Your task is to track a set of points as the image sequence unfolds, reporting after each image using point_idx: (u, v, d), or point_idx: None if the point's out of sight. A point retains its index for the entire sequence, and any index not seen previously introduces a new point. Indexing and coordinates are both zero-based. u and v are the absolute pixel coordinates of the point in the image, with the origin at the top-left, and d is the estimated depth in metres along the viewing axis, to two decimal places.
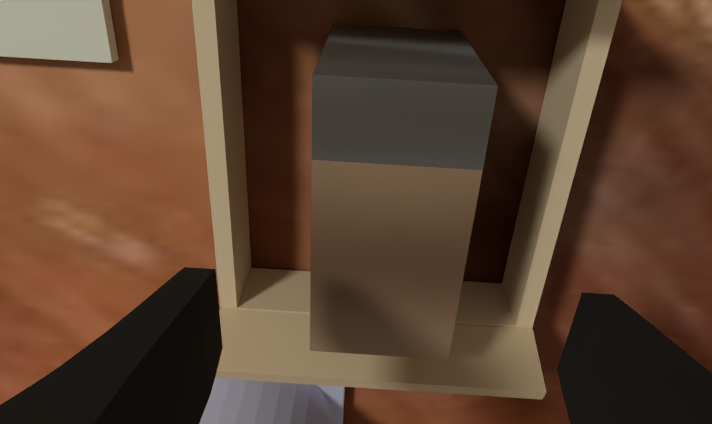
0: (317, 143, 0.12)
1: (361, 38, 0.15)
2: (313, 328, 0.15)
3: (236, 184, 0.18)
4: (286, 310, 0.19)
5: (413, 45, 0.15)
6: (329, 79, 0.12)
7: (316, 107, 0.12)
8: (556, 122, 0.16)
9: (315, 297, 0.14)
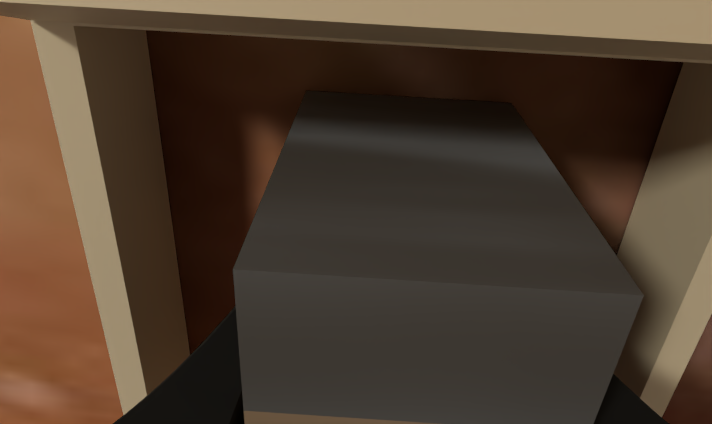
0: (254, 386, 0.06)
1: (348, 128, 0.09)
2: None
3: (159, 330, 0.12)
4: None
5: (439, 145, 0.08)
6: (271, 280, 0.05)
7: (245, 328, 0.06)
8: (667, 253, 0.10)
9: None
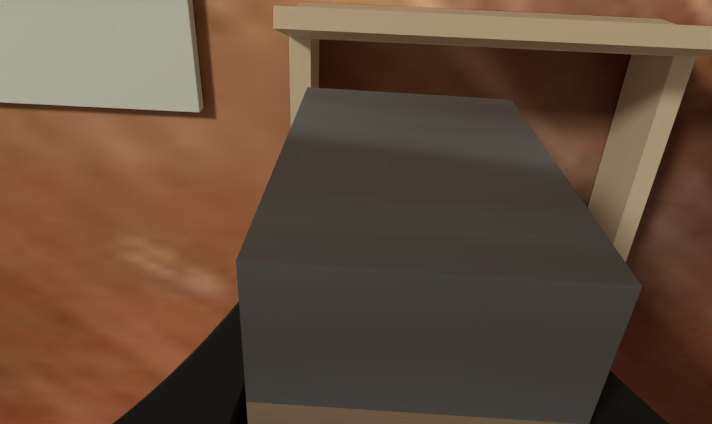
0: (256, 377, 0.06)
1: (350, 124, 0.09)
2: None
3: None
4: None
5: (440, 140, 0.08)
6: (273, 271, 0.05)
7: (248, 319, 0.06)
8: (623, 166, 0.17)
9: None
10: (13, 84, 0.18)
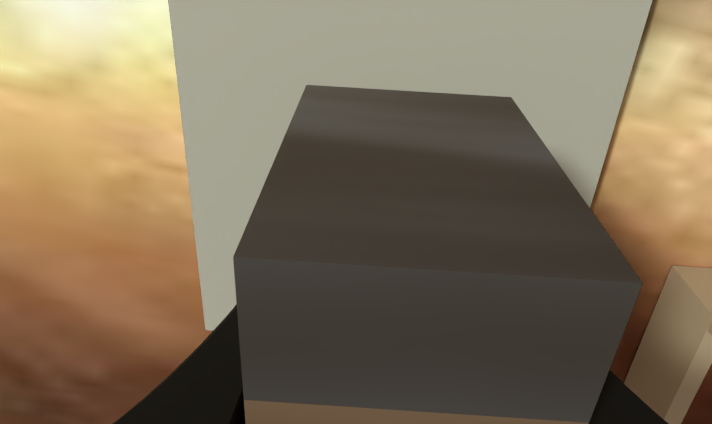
0: (254, 374, 0.06)
1: (349, 121, 0.09)
2: None
3: None
4: None
5: (439, 137, 0.08)
6: (271, 267, 0.05)
7: (246, 316, 0.06)
8: None
9: None
10: None
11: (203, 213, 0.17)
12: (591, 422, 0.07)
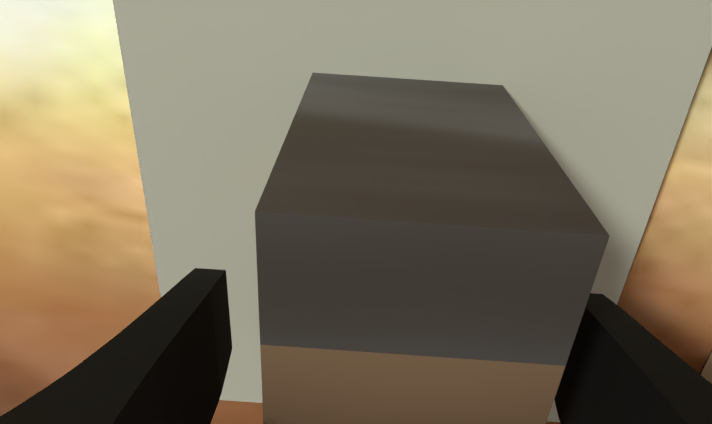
0: (270, 321, 0.07)
1: (353, 104, 0.10)
2: None
3: None
4: None
5: (435, 119, 0.09)
6: (287, 221, 0.06)
7: (264, 266, 0.06)
8: None
9: None
10: None
11: (169, 269, 0.14)
12: None
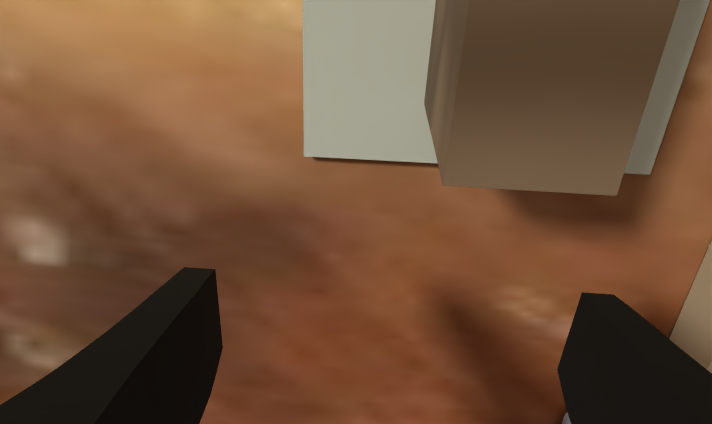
0: None
1: None
2: (452, 151, 0.12)
3: None
4: None
5: None
6: None
7: None
8: None
9: (461, 103, 0.11)
10: None
11: (314, 13, 0.16)
12: None
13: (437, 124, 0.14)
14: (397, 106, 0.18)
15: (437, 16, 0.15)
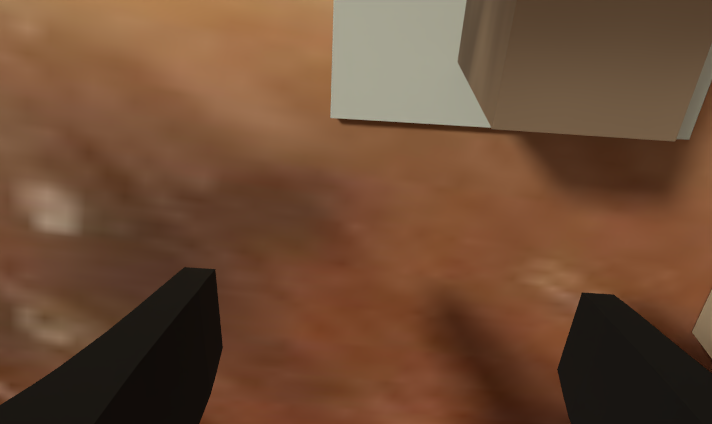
0: None
1: None
2: (504, 91, 0.11)
3: None
4: None
5: None
6: None
7: None
8: None
9: (517, 37, 0.11)
10: None
11: None
12: None
13: (480, 72, 0.13)
14: (429, 64, 0.17)
15: None
